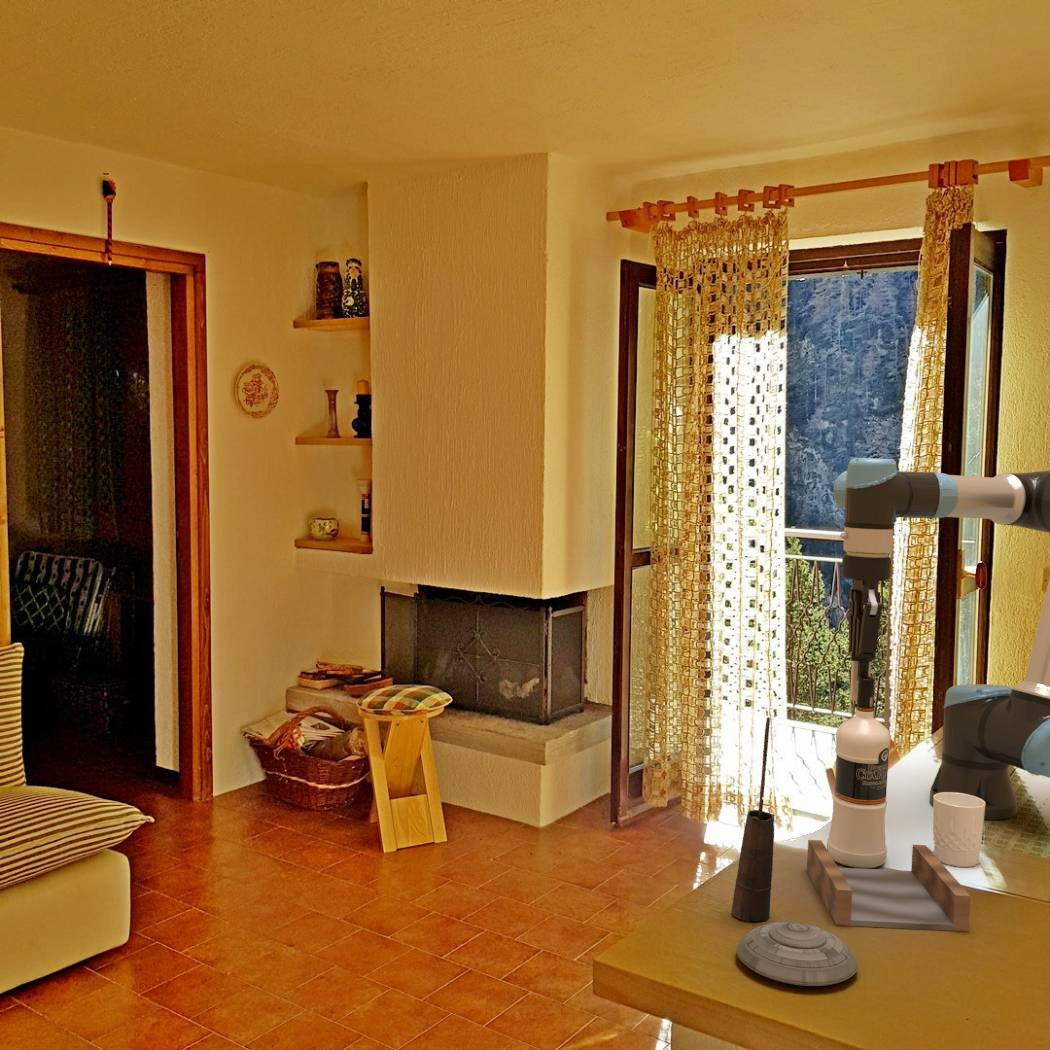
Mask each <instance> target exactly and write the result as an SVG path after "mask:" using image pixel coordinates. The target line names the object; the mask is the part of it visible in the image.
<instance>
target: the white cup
mask: <svg viewBox="0 0 1050 1050" xmlns="http://www.w3.org/2000/svg"><path fill="white" fill-rule="evenodd" d="M985 805H986V803H985V801H984V800H982V799H980V798H978V797H975V796H972V795H968V794H963V793H954V792H942V793H937V794H935V795H934V796H933V805H932V814H933V815H932V816H933V817H932V831H933V839H932V840H933V845H934V851H933V852H934V853H933V854H934V855H935V856H936V857H937V858H938V860H939V861H940V862H941V863H942V864H943V865H948V866H951V867H952V866H953V867H955V868H956V867H958V868H970V867H972V868H973V867H975V866H977V865H978V864H979V861H980V860H979V859H980V849H981V847H982V841H983V840H982V839H983V832H984V831H983V830H984V823H985V819H984V814H985Z"/></svg>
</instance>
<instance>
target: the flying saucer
mask: <svg viewBox="0 0 1050 1050" xmlns="http://www.w3.org/2000/svg"><path fill="white" fill-rule="evenodd" d="M735 951H736V955H737V957H738V958H739V960H740V961H741V962H742V963H743V964H744V966H746V967H747V968H749V969H750V970H752V971H753V972H755V973H757V974H759V975H760V976H763V977H766V978H768V979H770V980H774V981H777V982H780V983H784V984H789V985H796V986H805V987H806V986H807V987H821V986H830V985H835V984H839V983H841V982H844V981H847V980H848V979H850V978H851V977H853V976H854V975H855V974H856V973H857V972H858V969H859V962H858V960H857V958H856V956H855V955H854V952H853V951H852V950H851V949H850V947H849V946H848V945H847V944H846V943H845V942H844V941H843V940H842V939H841V938H840V937H838V936H836V935H835V934H833V933H832V932H830V931H828V930H826V929H824V928H822V927H820V926H817V925H813V924H810V923H807V922H801V921H794V920H793V921H791V920H790V921H789V920H787V921H784V920H782V921H779V920H778V921H773V922H768V923H765V924H762V925H759V926H756V927H754V928H753V929H751V930H750V931H748V932H747V933H746V934H745V935H743V937H742V938H741V939H740V940H739V941H738V943H737V945H736V947H735Z"/></svg>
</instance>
